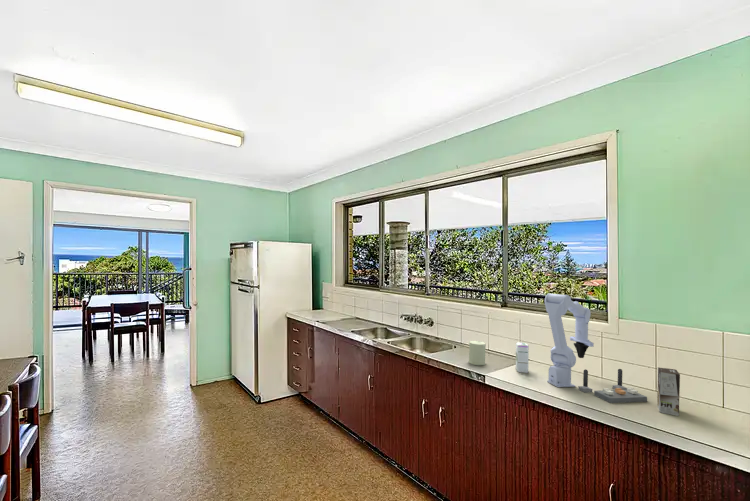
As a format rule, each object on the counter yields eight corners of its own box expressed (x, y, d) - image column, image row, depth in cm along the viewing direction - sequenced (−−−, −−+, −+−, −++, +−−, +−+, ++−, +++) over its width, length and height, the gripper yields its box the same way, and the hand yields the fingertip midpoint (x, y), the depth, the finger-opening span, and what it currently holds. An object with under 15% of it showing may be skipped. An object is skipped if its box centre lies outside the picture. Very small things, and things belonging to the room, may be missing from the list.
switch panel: (610, 403, 158) (610, 398, 158) (594, 395, 167) (594, 390, 167) (647, 401, 161) (647, 396, 161) (629, 394, 170) (629, 389, 170)
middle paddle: (620, 394, 163) (620, 390, 163) (614, 391, 166) (615, 388, 166) (625, 394, 163) (625, 390, 163) (619, 391, 166) (619, 388, 166)
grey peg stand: (584, 392, 170) (585, 370, 170) (578, 389, 174) (578, 368, 174) (592, 392, 171) (592, 370, 171) (586, 389, 175) (586, 368, 175)
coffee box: (679, 416, 146) (680, 374, 147) (659, 412, 150) (659, 371, 150) (676, 408, 154) (677, 369, 154) (656, 405, 158) (657, 366, 158)
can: (487, 362, 215) (487, 341, 215) (482, 366, 207) (483, 344, 208) (471, 359, 220) (472, 339, 220) (466, 363, 212) (466, 341, 212)
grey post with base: (619, 391, 173) (619, 370, 173) (612, 388, 177) (613, 367, 177) (627, 391, 174) (627, 370, 174) (620, 388, 178) (620, 367, 178)
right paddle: (632, 394, 164) (633, 390, 164) (626, 391, 167) (626, 387, 167) (637, 393, 164) (637, 390, 164) (631, 391, 167) (631, 387, 167)
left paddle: (608, 394, 162) (608, 391, 162) (602, 392, 165) (603, 388, 165) (613, 394, 162) (613, 390, 162) (607, 392, 165) (607, 388, 165)
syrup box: (528, 373, 198) (529, 345, 198) (516, 371, 199) (517, 344, 199) (526, 369, 203) (527, 342, 203) (515, 368, 204) (515, 342, 205)
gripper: (599, 333, 185) (598, 361, 185) (578, 328, 199) (578, 353, 199) (586, 333, 184) (585, 361, 184) (566, 328, 198) (566, 354, 198)
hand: (580, 357), depth 191 cm, fingers closed
